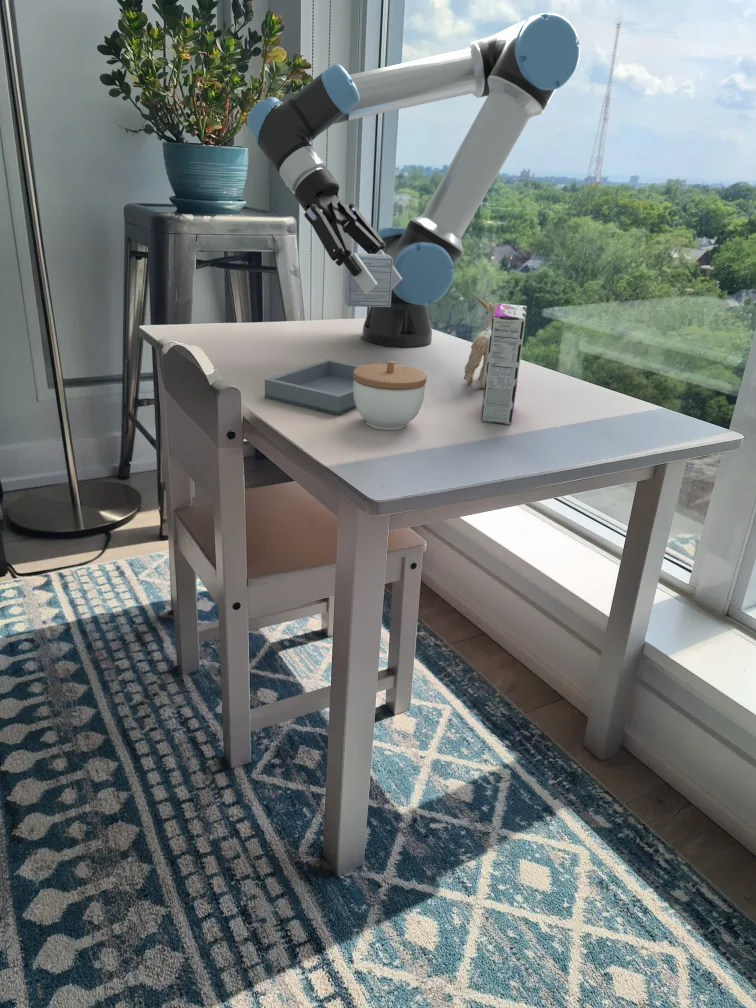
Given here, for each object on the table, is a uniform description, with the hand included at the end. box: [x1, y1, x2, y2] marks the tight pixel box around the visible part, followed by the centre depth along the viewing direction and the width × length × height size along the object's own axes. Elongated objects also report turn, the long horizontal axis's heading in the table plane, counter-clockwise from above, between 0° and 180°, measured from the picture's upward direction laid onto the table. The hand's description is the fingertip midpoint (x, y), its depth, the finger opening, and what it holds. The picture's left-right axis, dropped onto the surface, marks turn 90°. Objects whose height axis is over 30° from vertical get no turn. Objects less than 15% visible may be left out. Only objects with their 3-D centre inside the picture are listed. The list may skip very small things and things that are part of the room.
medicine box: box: [344, 252, 394, 308], centre depth 136 cm, size 8×4×9 cm, turn 100°
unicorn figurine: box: [463, 296, 500, 390], centre depth 138 cm, size 7×20×13 cm, turn 171°
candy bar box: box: [480, 302, 528, 425], centre depth 119 cm, size 11×5×16 cm, turn 168°
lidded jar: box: [353, 360, 428, 431], centre depth 112 cm, size 11×11×9 cm
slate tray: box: [264, 358, 360, 417], centre depth 126 cm, size 18×14×3 cm
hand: (384, 286), depth 135 cm, fingers closed on medicine box, 8 cm apart
